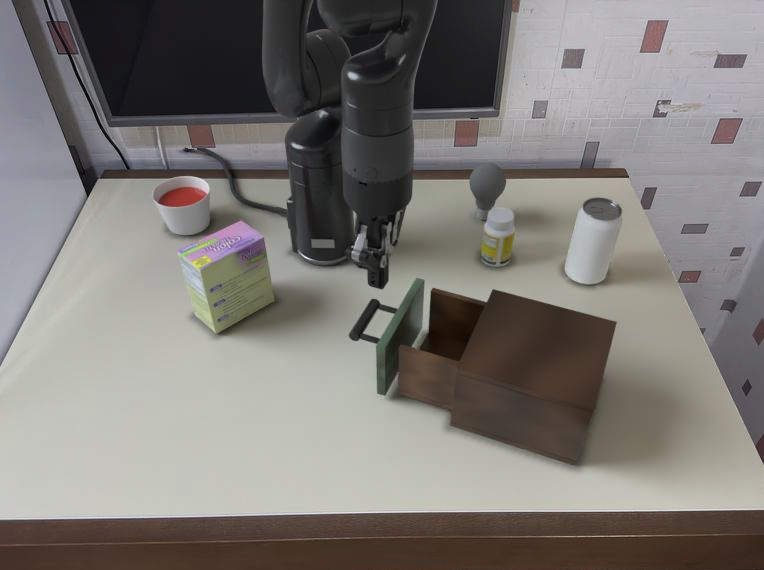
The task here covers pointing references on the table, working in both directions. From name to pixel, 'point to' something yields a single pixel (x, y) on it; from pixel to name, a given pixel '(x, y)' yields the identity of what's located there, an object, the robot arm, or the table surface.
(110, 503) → the table surface
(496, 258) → the supplement bottle
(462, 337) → the drawer
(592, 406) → the cabinet
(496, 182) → the light bulb
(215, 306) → the box
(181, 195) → the candle
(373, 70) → the robot arm
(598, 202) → the can
